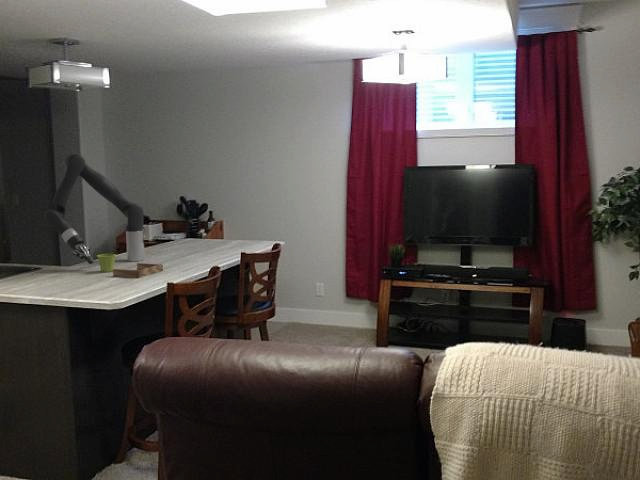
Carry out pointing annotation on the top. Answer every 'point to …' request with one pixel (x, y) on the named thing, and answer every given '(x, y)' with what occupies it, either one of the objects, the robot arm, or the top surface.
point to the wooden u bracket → (139, 270)
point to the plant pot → (106, 262)
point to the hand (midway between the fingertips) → (92, 262)
